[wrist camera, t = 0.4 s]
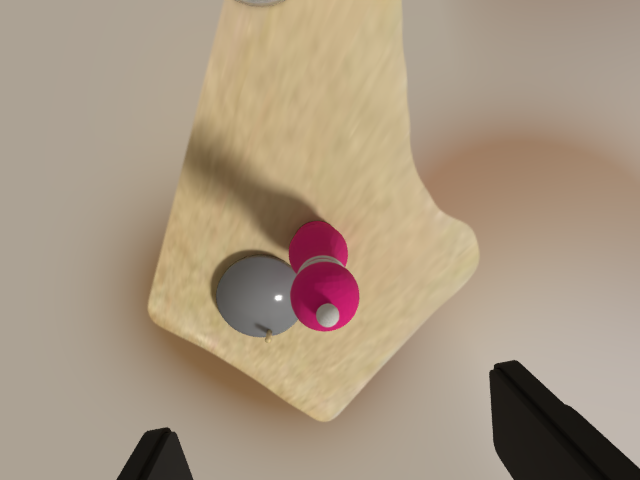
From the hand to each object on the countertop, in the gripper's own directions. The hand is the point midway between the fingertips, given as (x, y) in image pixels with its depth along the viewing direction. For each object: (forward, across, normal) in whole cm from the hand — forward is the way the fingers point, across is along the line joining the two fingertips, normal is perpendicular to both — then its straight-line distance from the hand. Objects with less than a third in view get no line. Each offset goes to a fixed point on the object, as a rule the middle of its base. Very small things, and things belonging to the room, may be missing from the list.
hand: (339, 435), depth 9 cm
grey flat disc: (+34, +9, +9) cm, 36 cm away
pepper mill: (+34, 0, +3) cm, 34 cm away
